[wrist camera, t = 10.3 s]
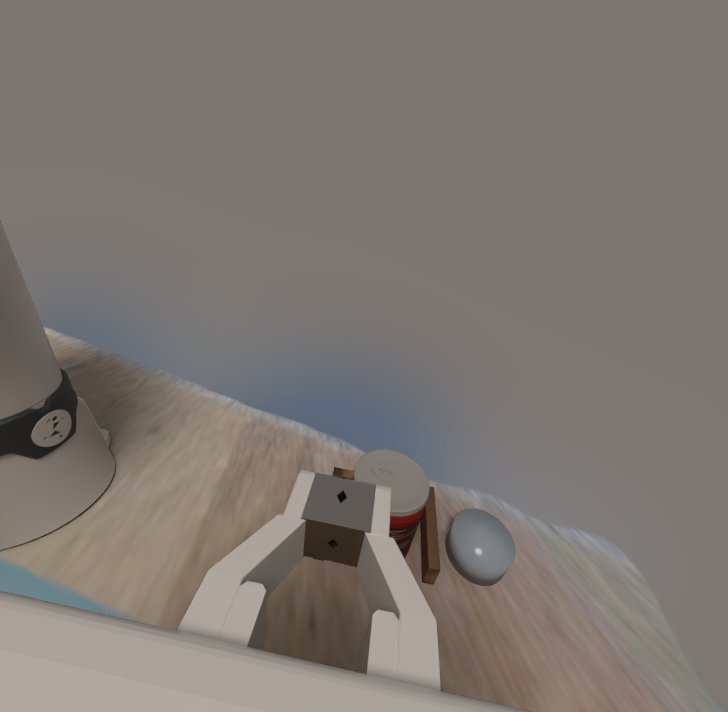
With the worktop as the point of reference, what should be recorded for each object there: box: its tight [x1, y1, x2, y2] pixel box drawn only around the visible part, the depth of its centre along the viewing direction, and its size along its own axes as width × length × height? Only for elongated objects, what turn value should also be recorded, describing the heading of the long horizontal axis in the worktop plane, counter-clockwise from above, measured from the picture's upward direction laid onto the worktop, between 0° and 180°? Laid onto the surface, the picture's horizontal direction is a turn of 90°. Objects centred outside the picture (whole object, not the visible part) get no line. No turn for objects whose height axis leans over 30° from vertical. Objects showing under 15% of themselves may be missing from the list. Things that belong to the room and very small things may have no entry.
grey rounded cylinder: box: [445, 509, 515, 586], centre depth 37 cm, size 7×7×4 cm
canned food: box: [352, 449, 430, 559], centre depth 35 cm, size 8×8×11 cm
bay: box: [313, 467, 440, 585], centre depth 38 cm, size 13×10×3 cm
